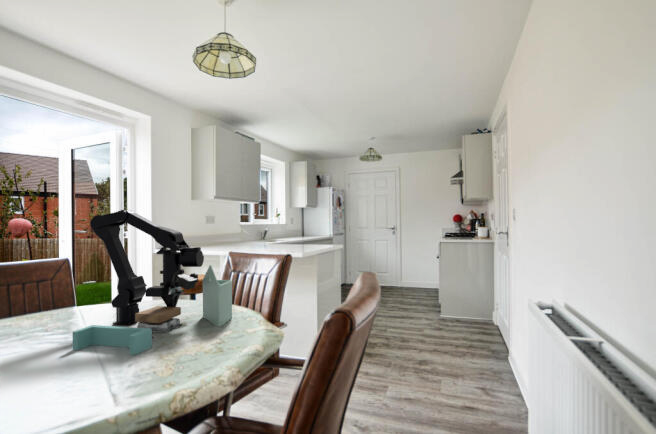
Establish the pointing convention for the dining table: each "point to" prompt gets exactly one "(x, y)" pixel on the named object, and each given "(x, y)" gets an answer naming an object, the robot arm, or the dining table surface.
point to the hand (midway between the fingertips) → (172, 312)
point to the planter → (216, 299)
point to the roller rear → (174, 322)
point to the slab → (157, 314)
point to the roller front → (155, 326)
